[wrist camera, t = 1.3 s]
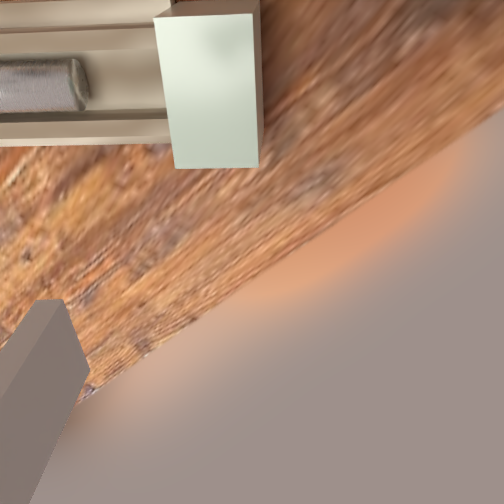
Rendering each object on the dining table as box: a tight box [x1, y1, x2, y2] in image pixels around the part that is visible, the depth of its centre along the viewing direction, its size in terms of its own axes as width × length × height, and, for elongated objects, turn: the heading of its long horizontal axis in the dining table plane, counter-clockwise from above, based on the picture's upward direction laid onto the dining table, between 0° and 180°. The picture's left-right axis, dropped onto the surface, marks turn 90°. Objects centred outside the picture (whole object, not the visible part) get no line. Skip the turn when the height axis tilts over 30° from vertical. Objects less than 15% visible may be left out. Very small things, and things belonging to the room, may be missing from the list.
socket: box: [153, 0, 264, 169], centre depth 32 cm, size 9×6×8 cm, turn 3°
